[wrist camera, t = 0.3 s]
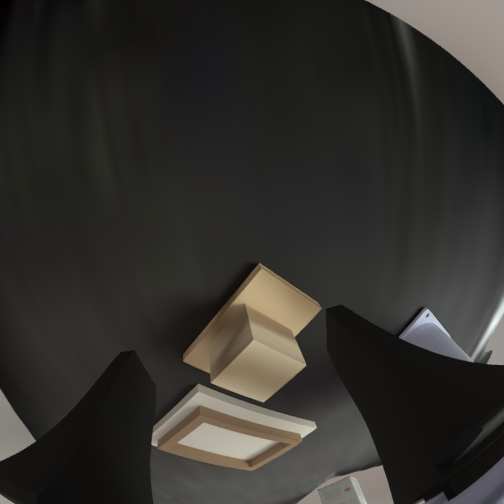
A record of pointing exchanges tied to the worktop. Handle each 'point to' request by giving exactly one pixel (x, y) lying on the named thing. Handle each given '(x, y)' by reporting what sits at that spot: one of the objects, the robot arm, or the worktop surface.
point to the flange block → (255, 337)
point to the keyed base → (227, 430)
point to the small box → (343, 492)
